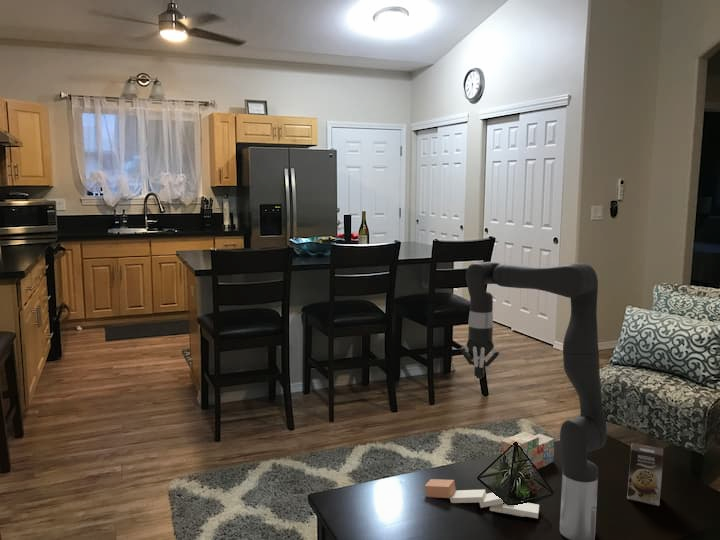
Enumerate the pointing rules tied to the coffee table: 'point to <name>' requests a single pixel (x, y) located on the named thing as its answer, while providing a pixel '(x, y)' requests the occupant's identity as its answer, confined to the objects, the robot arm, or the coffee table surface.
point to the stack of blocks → (533, 447)
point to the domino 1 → (440, 488)
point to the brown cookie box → (645, 474)
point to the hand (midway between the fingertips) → (479, 377)
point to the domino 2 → (468, 496)
